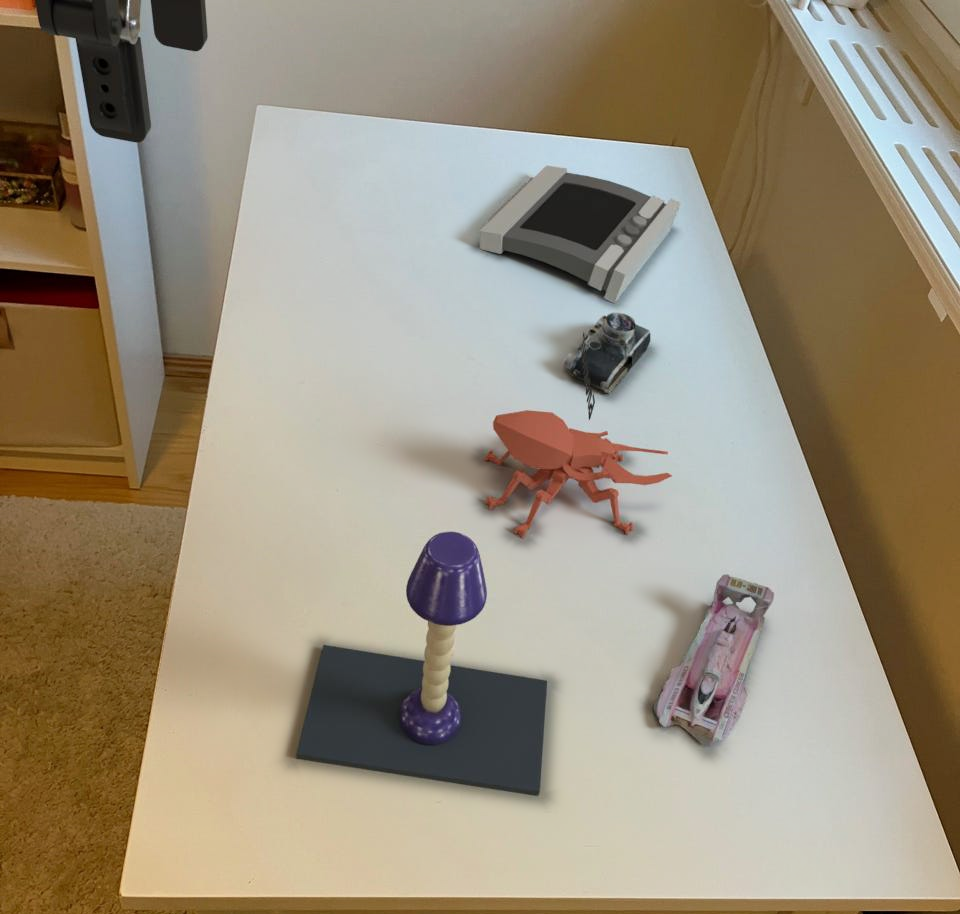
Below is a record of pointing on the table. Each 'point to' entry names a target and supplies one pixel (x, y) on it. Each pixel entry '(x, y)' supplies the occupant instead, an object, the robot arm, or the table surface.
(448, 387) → the table surface
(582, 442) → the beetle
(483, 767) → the mat
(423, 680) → the toy lamp
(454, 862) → the table surface
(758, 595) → the boxed toy car
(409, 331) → the table surface
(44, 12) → the robot arm
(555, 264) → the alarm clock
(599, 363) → the camera
